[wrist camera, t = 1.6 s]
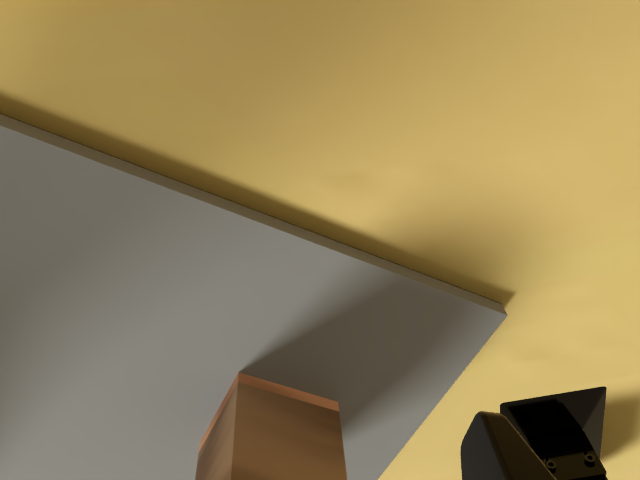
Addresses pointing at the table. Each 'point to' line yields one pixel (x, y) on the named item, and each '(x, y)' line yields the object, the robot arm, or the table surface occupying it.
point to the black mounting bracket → (563, 431)
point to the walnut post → (272, 435)
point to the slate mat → (195, 320)
